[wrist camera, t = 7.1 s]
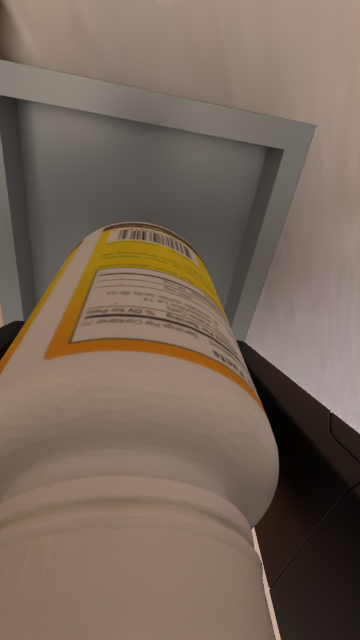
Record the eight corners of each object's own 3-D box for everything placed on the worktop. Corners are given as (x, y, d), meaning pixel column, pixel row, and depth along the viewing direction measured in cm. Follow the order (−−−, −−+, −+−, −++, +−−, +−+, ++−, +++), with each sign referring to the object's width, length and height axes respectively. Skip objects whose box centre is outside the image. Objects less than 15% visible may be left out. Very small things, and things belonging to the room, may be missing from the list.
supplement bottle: (107, 362, 14) (29, 764, 5) (34, 251, 11) (-451, 749, 2) (226, 321, 13) (373, 707, 4) (181, 190, 10) (354, 567, 1)
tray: (291, 125, 14) (316, 125, 12) (225, 347, 21) (234, 371, 19) (-9, 63, 12) (-42, 50, 10) (24, 330, 19) (9, 356, 17)
